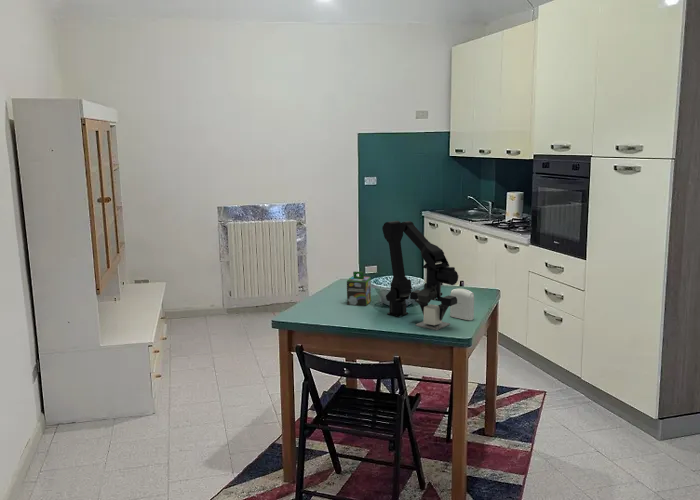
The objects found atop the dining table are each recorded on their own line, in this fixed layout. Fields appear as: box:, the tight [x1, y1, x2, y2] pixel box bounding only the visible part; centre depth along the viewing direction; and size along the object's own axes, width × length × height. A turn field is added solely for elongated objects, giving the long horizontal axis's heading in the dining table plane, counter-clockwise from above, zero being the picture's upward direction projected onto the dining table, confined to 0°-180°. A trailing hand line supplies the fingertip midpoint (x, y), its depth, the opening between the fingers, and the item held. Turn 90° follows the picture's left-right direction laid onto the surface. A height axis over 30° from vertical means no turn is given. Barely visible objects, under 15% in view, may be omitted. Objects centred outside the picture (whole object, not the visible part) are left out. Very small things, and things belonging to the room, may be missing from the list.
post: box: [414, 320, 451, 331], centre depth 253 cm, size 10×10×7 cm
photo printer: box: [449, 288, 475, 321], centre depth 262 cm, size 10×4×12 cm, turn 47°
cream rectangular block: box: [423, 303, 443, 325], centre depth 253 cm, size 5×5×7 cm
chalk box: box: [346, 271, 372, 307], centre depth 286 cm, size 9×9×15 cm
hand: (432, 318), depth 253 cm, fingers open, 7 cm apart
